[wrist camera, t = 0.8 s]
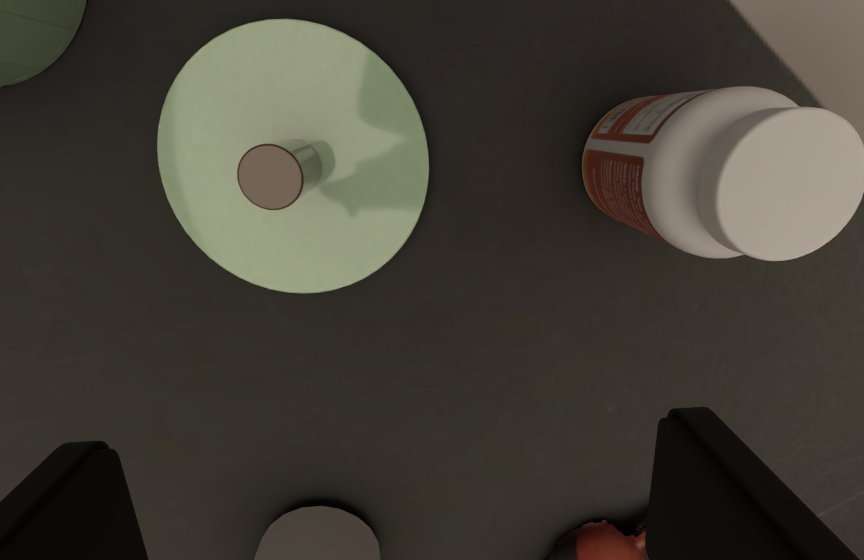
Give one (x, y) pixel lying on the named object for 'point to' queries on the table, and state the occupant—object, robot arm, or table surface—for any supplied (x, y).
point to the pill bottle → (726, 172)
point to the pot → (35, 35)
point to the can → (318, 537)
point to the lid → (293, 156)
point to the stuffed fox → (600, 544)
